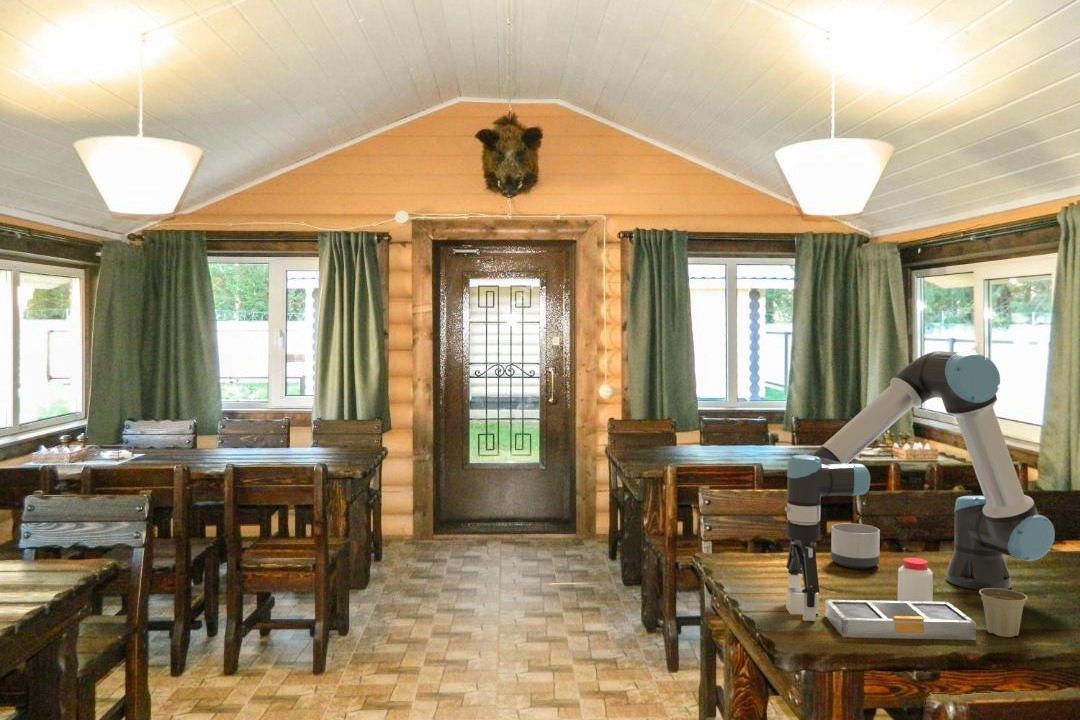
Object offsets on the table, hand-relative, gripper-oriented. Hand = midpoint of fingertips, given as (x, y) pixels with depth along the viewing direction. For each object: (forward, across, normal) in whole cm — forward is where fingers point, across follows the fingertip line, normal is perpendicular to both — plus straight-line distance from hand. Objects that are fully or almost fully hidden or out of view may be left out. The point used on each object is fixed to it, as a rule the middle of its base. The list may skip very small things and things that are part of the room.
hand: (801, 610), depth 201 cm
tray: (0, +10, +19) cm, 21 cm away
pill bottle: (0, -6, +29) cm, 29 cm away
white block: (0, 0, 0) cm, 0 cm away
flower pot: (0, +12, +41) cm, 42 cm away
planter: (0, -42, +26) cm, 49 cm away
